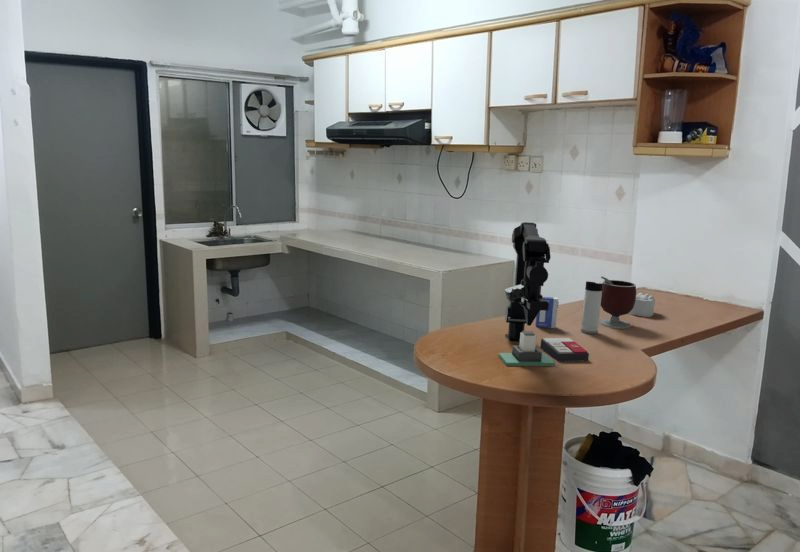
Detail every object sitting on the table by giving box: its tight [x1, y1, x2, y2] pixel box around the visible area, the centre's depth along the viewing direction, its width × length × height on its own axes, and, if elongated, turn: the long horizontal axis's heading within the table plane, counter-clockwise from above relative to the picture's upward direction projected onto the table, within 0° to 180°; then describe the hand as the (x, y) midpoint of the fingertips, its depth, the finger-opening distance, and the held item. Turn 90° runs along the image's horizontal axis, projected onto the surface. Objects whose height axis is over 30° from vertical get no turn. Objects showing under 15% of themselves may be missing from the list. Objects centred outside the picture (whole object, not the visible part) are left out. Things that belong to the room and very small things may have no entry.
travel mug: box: [580, 280, 603, 335], centre depth 254 cm, size 6×7×20 cm
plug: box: [518, 330, 538, 352], centre depth 216 cm, size 4×5×8 cm
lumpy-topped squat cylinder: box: [627, 292, 656, 318], centre depth 291 cm, size 10×13×9 cm
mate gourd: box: [598, 276, 637, 329], centre depth 268 cm, size 16×14×20 cm
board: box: [498, 345, 556, 367], centre depth 217 cm, size 10×16×4 cm, turn 96°
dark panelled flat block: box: [539, 337, 590, 362], centre depth 226 cm, size 11×4×15 cm
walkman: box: [535, 296, 559, 329], centre depth 260 cm, size 8×3×12 cm, turn 84°
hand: (528, 325), depth 215 cm, fingers closed
